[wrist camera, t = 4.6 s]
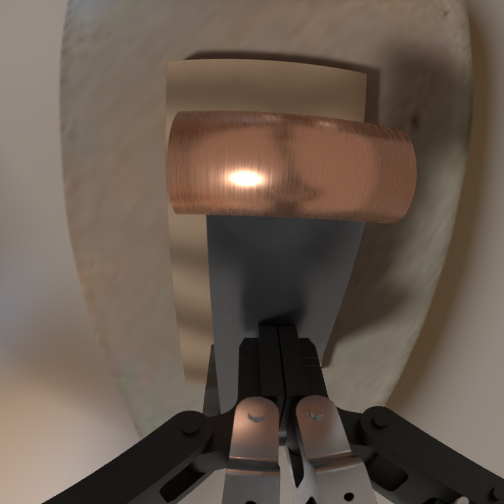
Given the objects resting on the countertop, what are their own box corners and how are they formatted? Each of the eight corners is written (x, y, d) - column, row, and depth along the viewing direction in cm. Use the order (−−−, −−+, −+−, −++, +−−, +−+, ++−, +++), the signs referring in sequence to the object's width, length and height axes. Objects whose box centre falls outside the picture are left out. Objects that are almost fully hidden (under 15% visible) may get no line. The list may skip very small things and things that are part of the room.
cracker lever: (202, 92, 11) (163, 124, 6) (355, 103, 11) (427, 146, 6) (217, 393, 26) (214, 454, 21) (288, 394, 26) (292, 455, 21)
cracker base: (174, 65, 19) (97, 20, 7) (357, 76, 20) (460, 52, 8) (188, 369, 32) (170, 471, 20) (312, 372, 32) (333, 472, 21)
